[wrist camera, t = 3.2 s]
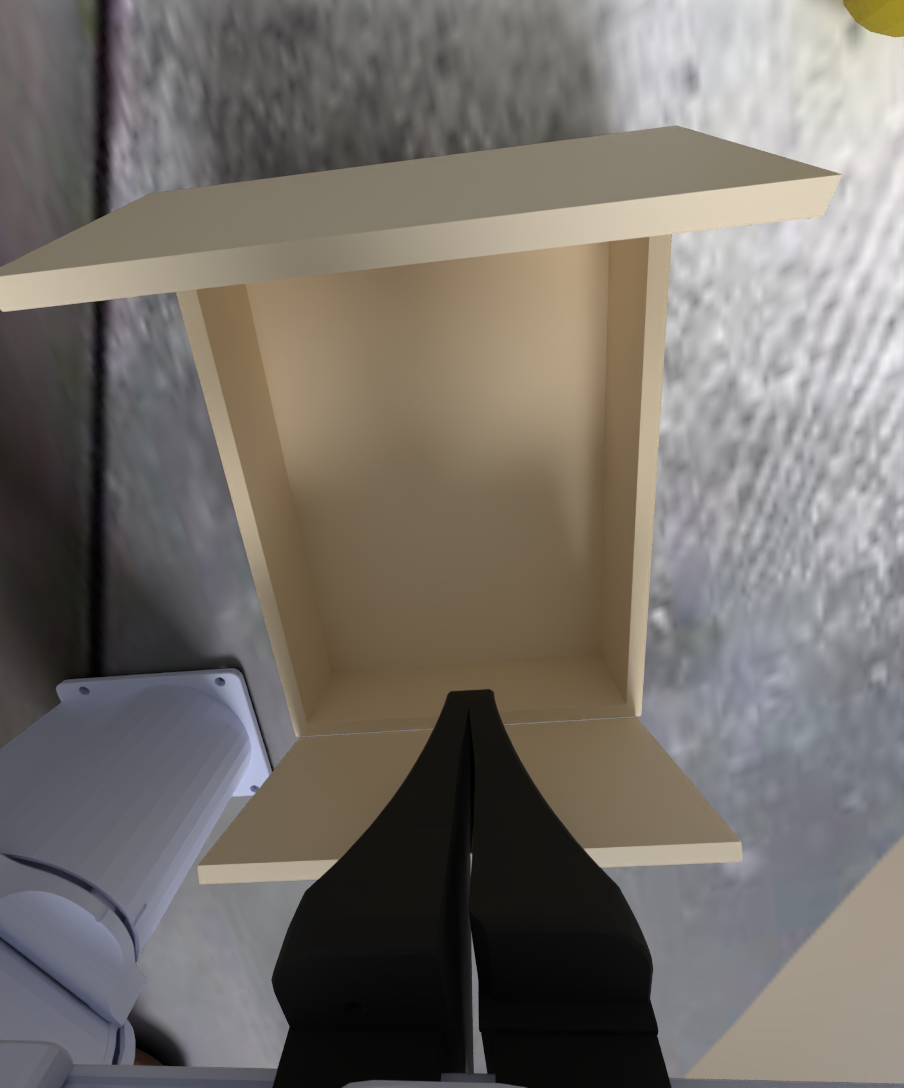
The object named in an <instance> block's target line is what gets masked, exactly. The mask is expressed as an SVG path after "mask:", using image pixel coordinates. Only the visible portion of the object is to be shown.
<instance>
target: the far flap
mask: <svg viewBox="0 0 904 1088" xmlns="http://www.w3.org/2000/svg"><path fill="white" fill-rule="evenodd" d="M504 727H505V730H506V732H507V734H508V736H509V738H510V740H511V743H512V745H513V747H514V749H515V751H516V753H517V755H518V756H519V758H520V760H521V762H522V764H523V765H524V767H525V769H526V771H527V772H528V774H529V776H530V777H531V779H532V781H533V782H534V784H535V785H536V787H537V788H538V790H539V791H540V793H541V795H542V796H543V797H544V799H545V800H546V802H547V803H548V805H549V806H550V807H551V809H552V810H553V812H554V813H555V814H556V815H557V817H558V818H559V819H560V821H561V822H562V823H563V824H564V826H565V827H566V828H567V829H568V831H569V832H570V833H571V835H572V836H573V837H574V838H575V840H576V841H577V842H578V843H579V844H580V845H581V846H582V848H583V849H584V850H585V851H586V852H587V853H588V855H589V856H590V857H591V858H592V859H593V860H594V861H595V862H596V863H597V864H598V866H599V867H600V868H601V867H624V866H648V865H672V864H696V863H720V862H742V842H741V841H740V839H739V838H738V837H737V836H736V835H735V833H734V832H733V831H732V830H731V829H730V827H729V826H728V825H727V824H726V823H725V822H724V820H723V819H722V818H721V817H720V816H719V814H718V813H717V812H716V811H715V810H714V808H713V807H712V806H711V805H710V804H709V803H708V801H707V800H706V799H705V798H704V797H703V795H702V794H701V793H700V792H699V791H698V789H697V788H696V787H695V786H694V785H693V783H692V782H691V781H690V780H689V779H688V778H687V776H686V775H685V774H684V773H683V772H682V770H681V769H680V768H679V767H678V766H677V764H676V763H675V762H674V761H673V760H672V759H671V757H670V756H669V755H668V754H667V753H666V751H665V750H664V749H663V748H662V747H661V745H660V744H659V743H658V742H657V741H656V739H655V738H654V737H653V736H652V735H651V734H650V732H649V731H648V730H647V729H646V728H645V726H644V725H643V724H642V723H641V722H640V720H639V719H638V718H637V717H635V718H618V719H602V720H585V721H568V722H551V723H534V724H518V725H504ZM432 731H433V730H417V731H400V732H383V733H366V734H350V735H333V736H316V737H300V738H299V739H298V740H297V742H296V743H295V744H294V745H293V747H292V748H291V749H290V750H289V752H288V753H287V754H286V755H285V757H284V758H283V759H282V760H281V762H280V763H279V764H278V765H277V767H276V768H275V769H274V770H273V772H272V773H271V774H270V775H269V777H268V778H267V779H266V780H265V782H264V783H263V784H262V785H261V787H260V788H259V789H258V791H257V792H256V793H255V794H254V796H253V797H252V798H251V799H250V801H249V802H248V803H247V804H246V806H245V807H244V808H243V809H242V811H241V812H240V813H239V814H238V816H237V817H236V818H235V819H234V821H233V822H232V823H231V824H230V826H229V827H228V828H227V829H226V831H225V832H224V833H223V834H222V836H221V837H220V838H219V839H218V841H217V842H216V843H215V844H214V846H213V847H212V848H211V850H210V851H209V852H208V853H207V855H206V856H205V857H204V858H203V860H202V861H201V862H200V863H199V865H198V873H199V882H200V884H218V883H242V882H266V881H290V880H314V879H319V878H320V877H321V876H322V875H323V874H324V873H326V872H327V871H328V870H329V869H330V868H331V867H332V866H333V865H334V864H335V863H336V862H337V861H338V860H339V859H340V858H341V857H342V856H343V855H344V854H345V853H346V852H347V851H348V850H349V849H350V848H351V846H352V845H353V844H354V843H355V842H356V841H357V840H358V839H359V838H360V837H361V835H362V834H363V833H364V832H365V831H366V830H367V829H368V828H369V827H370V825H371V824H372V823H373V822H374V821H375V819H376V818H377V817H378V816H379V814H380V813H381V812H382V810H383V809H384V808H385V807H386V805H387V804H388V803H389V801H390V800H391V799H392V797H393V796H394V795H395V793H396V792H397V790H398V789H399V787H400V786H401V785H402V783H403V782H404V780H405V779H406V777H407V775H408V774H409V772H410V771H411V769H412V768H413V766H414V764H415V762H416V761H417V759H418V757H419V755H420V754H421V752H422V750H423V749H424V747H425V745H426V743H427V741H428V739H429V737H430V735H431V733H432ZM472 845H473V837H472ZM472 845H471V852H470V856H471V864H472Z"/></svg>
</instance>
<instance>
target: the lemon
mask: <svg viewBox="0 0 904 1088" xmlns="http://www.w3.org/2000/svg"><path fill="white" fill-rule="evenodd" d="M843 2H844V5H845V7H846V8H847V10H848V11H849V13H850V14H851V15H852V17H853V18H854V20H855V21H856V22H857V23H859V24H860V25H862V26H863V27H865V28H866V29H868V30H869V31H871V32H875V33H879V34H883V35H888V36H892V37H902V36H904V0H843Z"/></svg>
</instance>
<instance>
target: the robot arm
mask: <svg viewBox="0 0 904 1088" xmlns="http://www.w3.org/2000/svg"><path fill="white" fill-rule="evenodd" d="M219 677H220V678H223V679H224V680H225V681H222V680H221V679H220V678H219ZM56 691H57V694H58V696H59V698H60V700H61V703H60V704H59V705H57V706H56V707H55V708H53V709H52V710H51V711H49V712H48V713H47V714H45V715H44V716H43V717H42V718H40V719H39V720H38V721H36V722H35V723H34V724H32V725H31V726H30V727H29V728H27V729H26V730H25V731H23V732H22V733H21V734H19V735H18V736H17V737H15V738H14V739H13V740H12V741H10V742H9V743H8V744H6V745H5V746H4V747H2V748H1V749H0V1088H904V1084H894V1083H891V1084H890V1083H851V1082H849V1083H848V1082H810V1081H769V1080H726V1079H685V1078H669V1077H668V1073H667V1069H666V1066H665V1062H664V1059H663V1055H662V1052H661V1048H660V1044H659V1041H658V1037H657V1035H658V1027H657V1022H656V1018H655V1015H654V1011H653V1008H652V1004H651V1001H650V994H651V984H652V974H653V965H652V958H651V954H650V951H649V948H648V945H647V943H646V941H645V938H644V936H643V933H642V931H641V929H640V927H639V924H638V922H637V920H636V918H635V916H634V914H633V912H632V910H631V908H630V906H629V905H628V903H627V901H626V899H625V897H624V895H623V893H622V892H621V890H620V888H619V887H618V885H617V884H616V883H615V882H614V881H613V880H612V879H611V878H610V877H609V876H608V875H607V874H606V873H605V872H604V871H603V870H602V869H601V868H600V867H599V866H598V864H597V863H596V862H595V861H594V860H593V859H592V858H591V857H590V856H589V855H588V853H587V852H586V851H585V850H584V849H583V848H582V846H581V845H580V844H579V843H578V842H577V841H576V840H575V838H574V837H573V836H572V835H571V833H570V832H569V831H568V829H567V828H566V827H565V826H564V824H563V823H562V822H561V821H560V819H559V818H558V817H557V815H556V814H555V813H554V812H553V810H552V809H551V807H550V806H549V805H548V803H547V802H546V800H545V799H544V797H543V796H542V795H541V793H540V791H539V790H538V788H537V787H536V785H535V784H534V782H533V781H532V779H531V777H530V776H529V774H528V772H527V771H526V769H525V767H524V765H523V764H522V762H521V760H520V758H519V756H518V755H517V753H516V751H515V749H514V747H513V745H512V743H511V740H510V738H509V736H508V734H507V732H506V730H505V727H504V725H503V723H502V720H501V717H500V715H499V712H498V709H497V705H496V702H495V697H494V692H493V691H492V690H491V689H482V690H462V691H450V692H449V693H448V694H447V697H446V701H445V703H444V706H443V709H442V711H441V714H440V716H439V718H438V720H437V723H436V725H435V727H434V729H433V731H432V733H431V735H430V737H429V739H428V741H427V743H426V745H425V747H424V749H423V750H422V752H421V754H420V755H419V757H418V759H417V761H416V762H415V764H414V766H413V768H412V769H411V771H410V772H409V774H408V775H407V777H406V779H405V780H404V782H403V783H402V785H401V786H400V787H399V789H398V790H397V792H396V793H395V795H394V796H393V797H392V799H391V800H390V801H389V803H388V804H387V805H386V807H385V808H384V809H383V810H382V812H381V813H380V814H379V816H378V817H377V818H376V819H375V821H374V822H373V823H372V824H371V825H370V827H369V828H368V829H367V830H366V831H365V832H364V833H363V834H362V835H361V837H360V838H359V839H358V840H357V841H356V842H355V843H354V844H353V845H352V846H351V848H350V849H349V850H348V851H347V852H346V853H345V854H344V855H343V856H342V857H341V858H340V859H339V860H338V861H337V862H336V863H335V864H334V865H333V866H332V867H331V868H330V869H329V870H328V871H327V872H326V873H324V874H323V875H322V876H321V877H320V878H319V879H318V880H317V881H316V882H315V883H314V884H313V885H312V886H311V887H310V888H309V889H307V890H306V891H305V893H304V895H303V897H302V899H301V901H300V903H299V906H298V908H297V910H296V912H295V914H294V917H293V919H292V921H291V923H290V925H289V928H288V930H287V933H286V936H285V939H284V942H283V945H282V948H281V951H280V954H279V957H278V960H277V963H276V966H275V969H274V972H273V976H272V984H273V989H274V992H275V995H276V997H277V999H278V1002H279V1004H280V1006H281V1008H282V1011H283V1013H284V1015H285V1017H286V1020H287V1022H288V1024H289V1026H290V1028H289V1031H288V1035H287V1038H286V1042H285V1045H284V1049H283V1052H282V1056H281V1059H280V1062H279V1066H278V1069H267V1068H225V1067H183V1066H142V1065H133V1064H134V1058H135V1035H134V1030H133V1028H132V1026H131V1024H130V1022H129V1021H128V1019H127V1017H128V1015H129V1013H130V1012H131V1010H132V1008H133V1006H134V1004H135V1002H136V1000H137V999H138V997H139V995H140V993H141V991H142V989H143V987H144V986H145V984H146V982H147V978H146V977H145V976H144V975H143V974H142V973H141V972H140V970H139V969H138V967H137V965H136V962H137V960H138V958H139V957H140V955H141V953H142V951H143V950H144V948H145V946H146V944H147V943H148V941H149V939H150V937H151V936H152V934H153V932H154V930H155V929H156V927H157V925H158V923H159V922H160V920H161V918H162V917H163V915H164V913H165V911H166V910H167V908H168V906H169V904H170V903H171V901H172V899H173V897H174V896H175V894H176V892H177V890H178V889H179V887H180V885H181V883H182V882H183V880H184V878H185V876H186V875H187V873H188V871H189V870H190V868H191V866H192V864H193V863H194V861H195V859H196V857H197V856H198V854H199V852H200V850H201V849H202V847H203V845H204V843H205V842H206V840H207V838H208V836H209V835H210V833H211V831H212V829H213V828H214V826H215V824H216V823H217V821H218V819H219V817H220V816H221V814H222V812H223V810H224V809H225V807H226V805H227V803H228V802H229V800H230V798H231V797H233V796H252V795H254V794H255V793H256V792H257V791H258V789H259V788H260V787H261V785H262V784H263V783H264V782H265V780H266V779H267V778H268V777H269V775H270V774H271V773H272V769H271V766H270V763H269V760H268V756H267V753H266V750H265V746H264V743H263V740H262V737H261V733H260V730H259V727H258V723H257V720H256V717H255V713H254V710H253V707H252V704H251V700H250V697H249V694H248V690H247V687H246V684H245V681H244V677H243V675H242V673H241V672H240V671H239V670H237V669H233V668H227V669H213V670H198V671H184V672H169V673H154V674H140V675H125V676H111V677H96V678H82V679H67V680H64V681H63V682H61V683H60V684H59V685H57V687H56ZM472 837H473V845H472ZM471 845H472V864H471V856H470V852H471ZM471 932H472V939H473V946H474V952H475V959H476V966H477V973H478V982H479V1031H480V1032H481V1034H482V1041H483V1047H484V1054H485V1060H486V1067H487V1073H488V1074H476V1073H474V1063H473V1018H472V961H471Z"/></svg>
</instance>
